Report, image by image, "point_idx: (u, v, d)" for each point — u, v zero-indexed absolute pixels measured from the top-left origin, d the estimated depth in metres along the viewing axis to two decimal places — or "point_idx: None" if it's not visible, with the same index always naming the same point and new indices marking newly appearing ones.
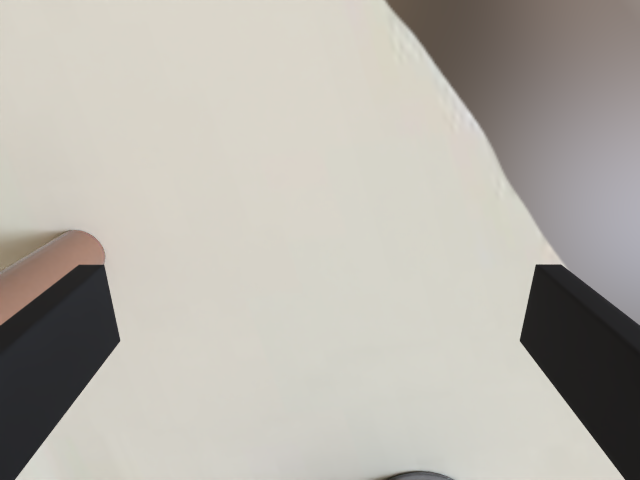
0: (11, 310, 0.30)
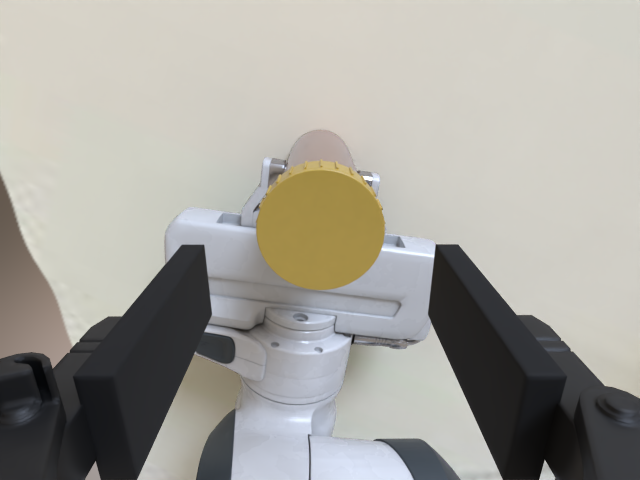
0: (324, 159, 0.22)
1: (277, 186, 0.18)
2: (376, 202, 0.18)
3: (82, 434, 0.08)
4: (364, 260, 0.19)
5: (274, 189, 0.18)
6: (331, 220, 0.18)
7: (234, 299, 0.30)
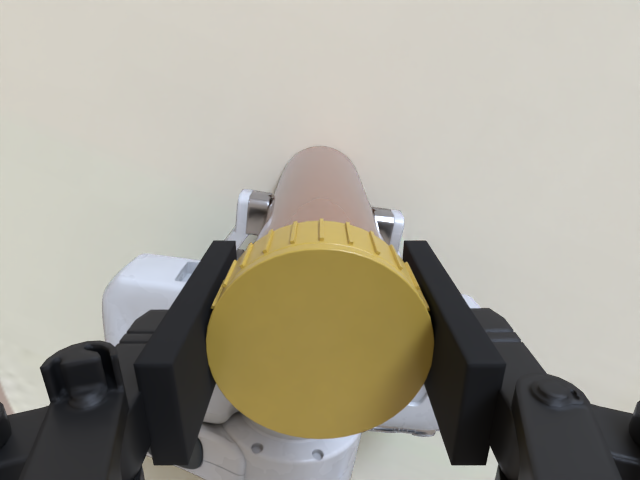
0: (327, 208, 0.14)
1: (240, 277, 0.10)
2: (421, 303, 0.10)
3: (140, 420, 0.08)
4: (396, 395, 0.11)
5: (235, 282, 0.10)
6: (339, 333, 0.10)
7: None
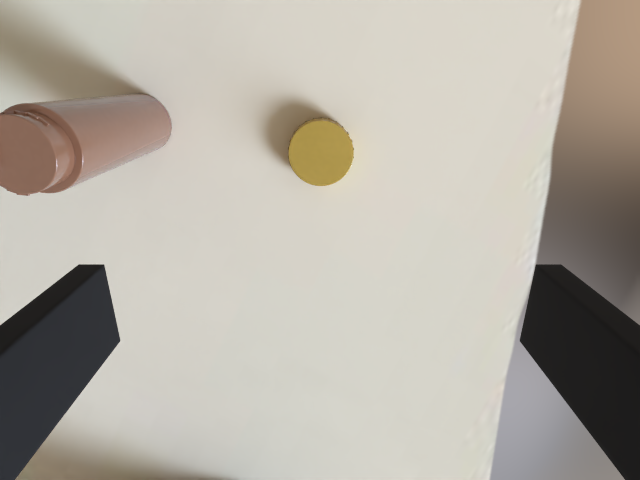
0: (101, 153, 0.26)
1: (300, 177, 0.37)
2: (301, 128, 0.36)
3: None
4: (333, 128, 0.36)
5: (301, 178, 0.38)
6: (313, 149, 0.36)
7: None
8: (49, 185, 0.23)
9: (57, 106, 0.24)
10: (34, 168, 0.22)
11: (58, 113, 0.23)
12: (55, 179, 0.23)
